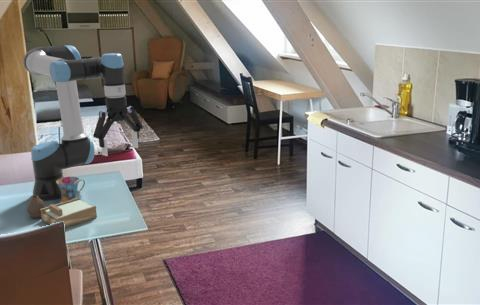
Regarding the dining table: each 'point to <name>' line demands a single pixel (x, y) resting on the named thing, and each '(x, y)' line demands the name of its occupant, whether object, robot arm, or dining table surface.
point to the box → (70, 215)
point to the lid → (66, 208)
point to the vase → (35, 207)
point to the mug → (69, 188)
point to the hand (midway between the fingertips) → (120, 151)
